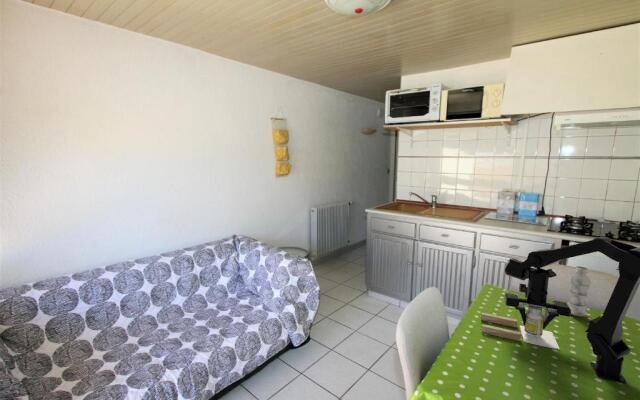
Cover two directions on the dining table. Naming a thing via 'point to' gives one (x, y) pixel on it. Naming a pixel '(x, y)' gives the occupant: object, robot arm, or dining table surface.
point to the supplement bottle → (534, 321)
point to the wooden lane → (500, 331)
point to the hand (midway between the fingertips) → (533, 326)
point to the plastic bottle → (579, 292)
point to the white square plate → (540, 339)
